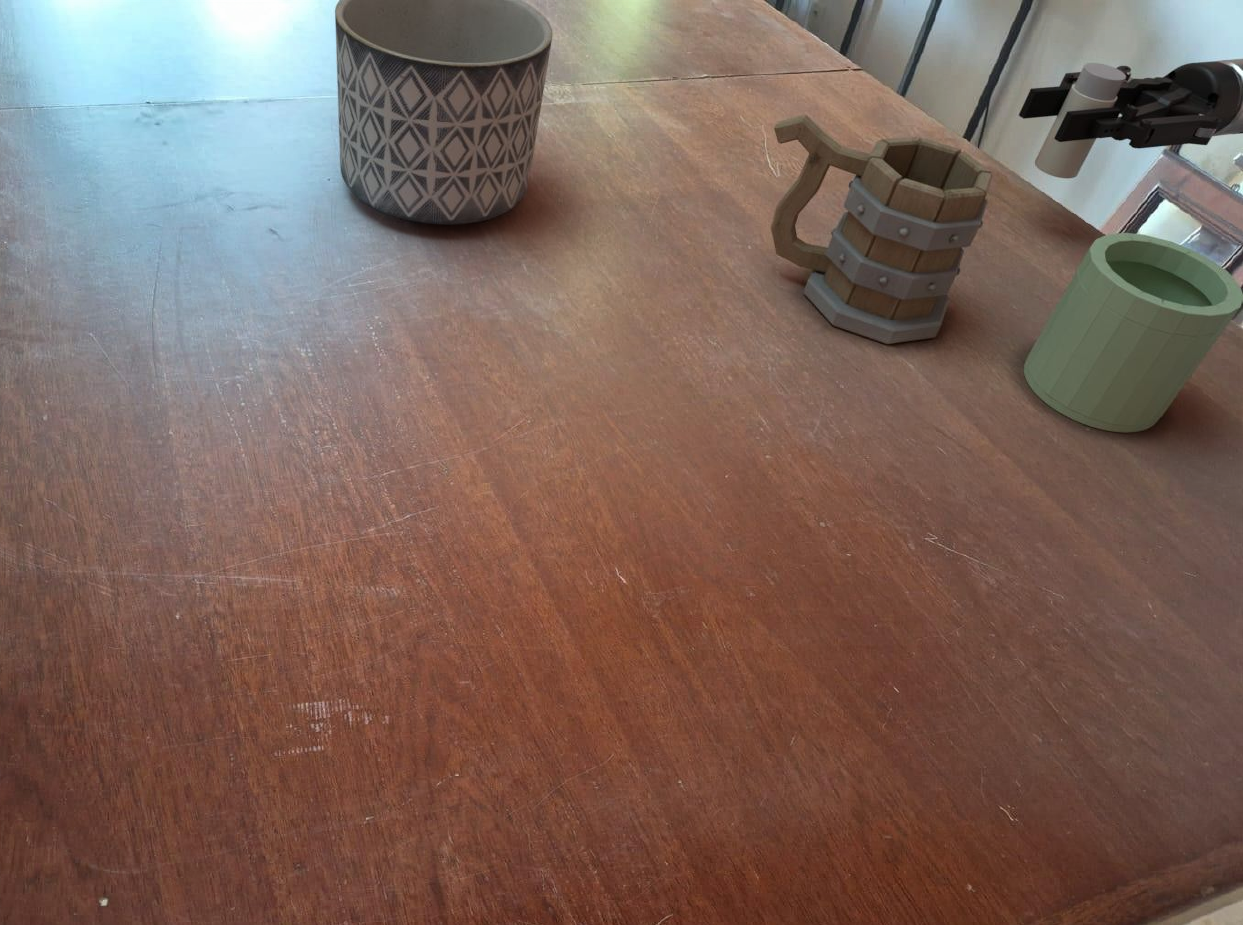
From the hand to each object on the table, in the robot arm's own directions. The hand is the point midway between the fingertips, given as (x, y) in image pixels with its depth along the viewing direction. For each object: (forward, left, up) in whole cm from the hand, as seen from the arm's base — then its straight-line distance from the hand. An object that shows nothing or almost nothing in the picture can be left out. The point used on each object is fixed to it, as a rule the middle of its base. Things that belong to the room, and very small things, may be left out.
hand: (1045, 114), depth 104 cm
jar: (-1, +27, -13) cm, 30 cm away
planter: (+59, +4, -13) cm, 61 cm away
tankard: (+20, +15, -13) cm, 28 cm away
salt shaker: (-5, -2, -6) cm, 8 cm away
